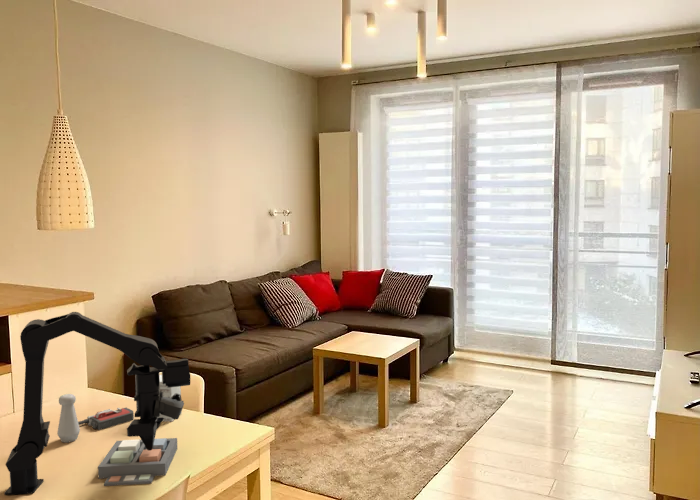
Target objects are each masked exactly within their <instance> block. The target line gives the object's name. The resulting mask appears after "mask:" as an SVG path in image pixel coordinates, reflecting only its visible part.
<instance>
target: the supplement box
mask: <svg viewBox="0 0 700 500" xmlns="http://www.w3.org/2000/svg"><path fill="white" fill-rule="evenodd" d="M159 380H160V390H162V392H163V397H167V398H168V397H170V398H171V397H172V396H173V395H174V394H175V393H177V394H180V395H181V396H182V391H181V390H182V389H181V387H182V386H179V387H170V388H167V386H166V385H165V384H162V374H159ZM182 411H183V410H182ZM182 411H181V414H182ZM158 418H164V419H163V421H162V422H173V421H174V420H175V419H172V418H171V417H168V416H165V415H162V414H160V416H159V417H158Z"/></svg>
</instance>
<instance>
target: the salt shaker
mask: <svg viewBox="0 0 700 500" xmlns="http://www.w3.org/2000/svg"><path fill="white" fill-rule="evenodd" d="M76 401H77V400H76V395H75V394H71V393H66V394H63V395H60V396H59V397H58V404H59V405H60V406H61V408H60V414H59V421H58V426H57V431H56V432H57V436H58V438H59V439H60V441H61V443H68V444H69V443H71V442H72V443H73V442H76V440H77V439H78V438H79V435H80V431H81V428H80V425H79V424H78V422H79V419H78V416H77V412H76V408H75V402H76Z"/></svg>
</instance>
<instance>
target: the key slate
mask: <svg viewBox="0 0 700 500" xmlns="http://www.w3.org/2000/svg"><path fill="white" fill-rule="evenodd" d="M166 446H167V438H166V437H164V438H155V440H154V445H153V449H161V450H165V448H166ZM146 450H147V448H146Z"/></svg>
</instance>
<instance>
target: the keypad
mask: <svg viewBox="0 0 700 500" xmlns="http://www.w3.org/2000/svg"><path fill="white" fill-rule="evenodd" d="M122 441H123V440H116V441H115V442H114V444H113V445H112V446H111V448H110V449H109V450H108V452H107V454H106V455H105V457H103V459H102V461H101V462H100V463H99V464H98V466H97V473H98V474H97V476H98V480H102V479H105V481H104V483H103V486H104V487H109V486H126V485H128V486H131V485H146V484H147V485H149V484H152V483H153V481H154V479H155V477H157V476H167V473H168V471H169V469H170V466H171V464H172V462H173V459H174V457H175V455H176V452H177V450H178V438H177V437H175V438H174V437H170V438H169V437H168V438H167V446H166V448H165V450H161V458H160V460H159V461H155V462H139V457H140V455H141V453H142V452H143V450H146V447H145V445H144V443H143V442H142V440H141V439H140V448H139V449H138V451H133V459H132V461H131V463H115V464H110V458H111V457H112V455H113V454H114V452H115V451H118V447H119V445H120V444H121V442H122Z"/></svg>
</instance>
